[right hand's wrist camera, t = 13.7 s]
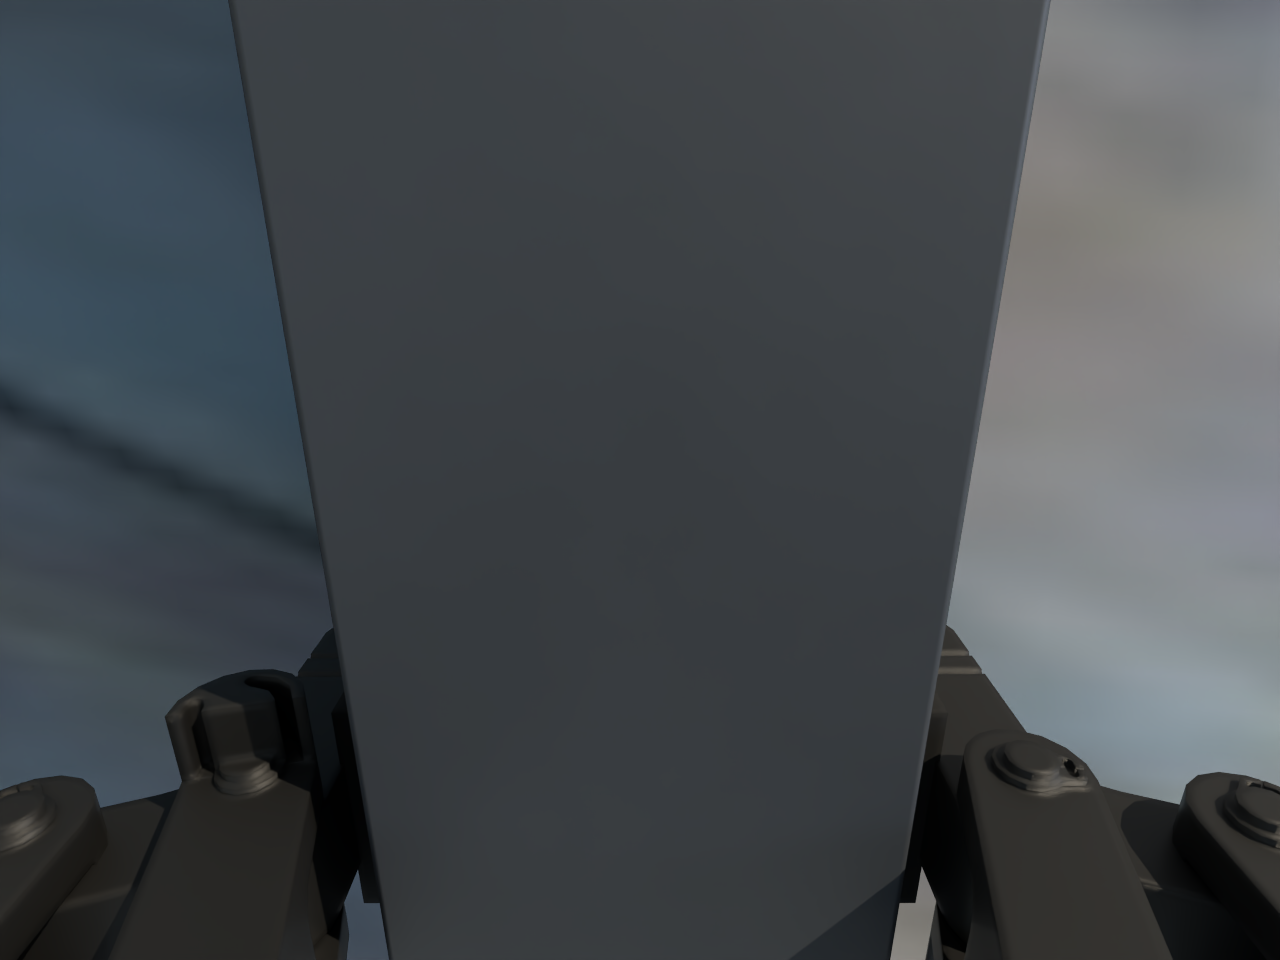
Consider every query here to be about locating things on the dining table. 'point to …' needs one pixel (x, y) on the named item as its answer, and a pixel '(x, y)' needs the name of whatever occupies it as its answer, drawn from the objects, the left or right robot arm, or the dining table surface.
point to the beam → (639, 441)
